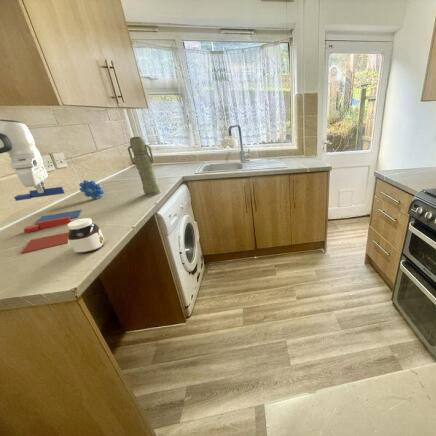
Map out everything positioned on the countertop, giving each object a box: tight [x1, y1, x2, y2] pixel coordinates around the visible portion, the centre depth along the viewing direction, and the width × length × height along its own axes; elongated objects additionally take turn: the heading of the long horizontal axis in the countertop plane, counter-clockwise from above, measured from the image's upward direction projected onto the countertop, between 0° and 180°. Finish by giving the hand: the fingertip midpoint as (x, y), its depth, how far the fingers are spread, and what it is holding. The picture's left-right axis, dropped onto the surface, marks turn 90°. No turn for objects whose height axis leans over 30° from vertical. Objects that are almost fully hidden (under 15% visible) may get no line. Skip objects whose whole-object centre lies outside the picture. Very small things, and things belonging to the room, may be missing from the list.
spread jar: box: [66, 217, 105, 255], centre depth 91 cm, size 12×11×12 cm
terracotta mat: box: [20, 231, 69, 255], centre depth 100 cm, size 16×12×1 cm
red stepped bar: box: [23, 217, 72, 234], centre depth 112 cm, size 16×4×3 cm, turn 122°
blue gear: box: [78, 179, 105, 200], centre depth 147 cm, size 12×7×12 cm, turn 108°
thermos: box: [127, 136, 161, 197], centre depth 147 cm, size 9×12×35 cm
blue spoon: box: [13, 186, 65, 202], centre depth 108 cm, size 16×4×3 cm, turn 121°
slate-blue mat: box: [34, 209, 83, 225], centre depth 123 cm, size 16×12×1 cm
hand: (42, 191), depth 109 cm, fingers closed on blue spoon
